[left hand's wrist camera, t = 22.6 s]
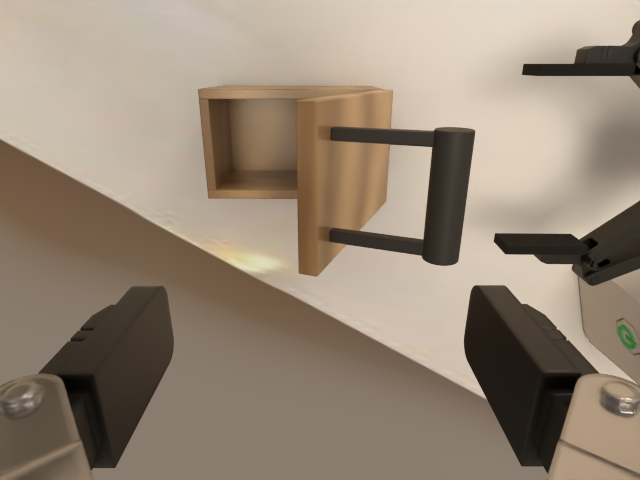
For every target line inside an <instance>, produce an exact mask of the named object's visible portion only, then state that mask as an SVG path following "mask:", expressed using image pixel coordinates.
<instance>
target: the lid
mask: <svg viewBox="0 0 640 480" xmlns="http://www.w3.org/2000/svg"><path fill="white" fill-rule="evenodd" d="M392 99H393V90H374V91H366V92H359V93H351V94H343V95H335V96H327V97H319V98H311V99H304V100H297V101H296V134H297V194H298V253H299V273H300V274H305V275H311V276H318V275H319V274H320V273H321V272H322V271H323V270H324V269H325V267H326V266H327V265H328V264H329V263H330V262H331V261H332V260H333V259H334V258H335V257H336V255H337V254H338V253H339V252H340V251H341V250H342V249H343V248H344V247H345V246H346V245H354V246H361V247H367V248H374V249H381V250H388V251H394V252H401V253H408V254H415V255H421V256H422V258H423V259H424V260H425V261H426V262H428V263H431V264H435V265H442V266H447V265H453V264H456V263H457V262H458V259H459V251H460V244H461V236H462V229H463V221H464V213H465V206H466V198H467V190H468V183H469V175H470V168H471V160H472V152H473V145H474V137H475V130H473V129H468V128H456V127H443V128H436V129H435V130H434V131H423V130H402V129H391V115H392ZM390 144H392V145H409V146H425V147H433V148H432V158H431V168H430V178H429V189H428V199H427V209H426V220H425V230H424V240H422V239H415V238H407V237H400V236H392V235H385V234H378V233H370V232H363V231H359V230H360V229H361V228H362V227H363V226H364V225H365V224H366V223H367V222H368V221H369V220H370V218H371V217H372V216H373V215H374V214H375V213H376V212H377V211H378V210H379V209H380V208H381V206H382V205H383V204H384V203H385V202H386V197H387V180H388V164H389V148H390Z"/></svg>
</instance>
